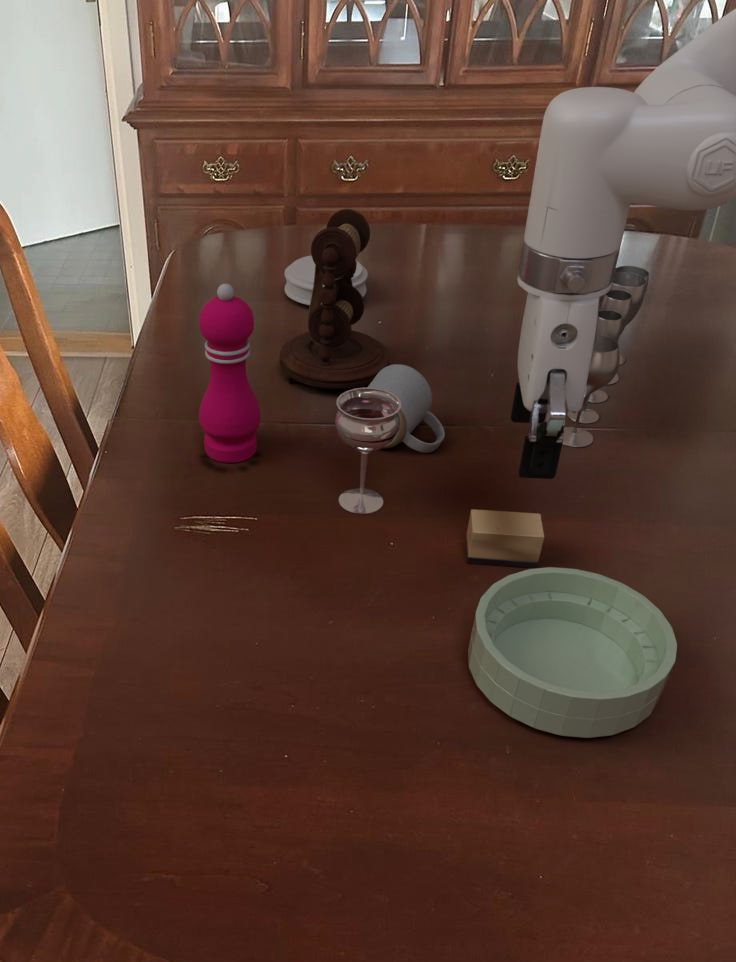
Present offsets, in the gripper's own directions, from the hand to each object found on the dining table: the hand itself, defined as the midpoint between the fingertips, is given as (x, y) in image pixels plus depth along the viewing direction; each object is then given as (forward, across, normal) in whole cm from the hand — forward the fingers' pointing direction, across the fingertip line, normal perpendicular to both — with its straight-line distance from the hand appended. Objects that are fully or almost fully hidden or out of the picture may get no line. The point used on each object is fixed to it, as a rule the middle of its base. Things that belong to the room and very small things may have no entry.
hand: (531, 447), depth 87 cm
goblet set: (+13, +35, -13) cm, 39 cm away
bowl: (+13, -17, -3) cm, 22 cm away
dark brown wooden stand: (+12, +38, +21) cm, 45 cm away
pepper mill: (+12, +17, +32) cm, 38 cm away
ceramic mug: (+13, +22, +12) cm, 28 cm away
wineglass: (+12, +8, +16) cm, 22 cm away
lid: (+12, +63, +24) cm, 68 cm away
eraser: (+13, 0, +1) cm, 13 cm away
